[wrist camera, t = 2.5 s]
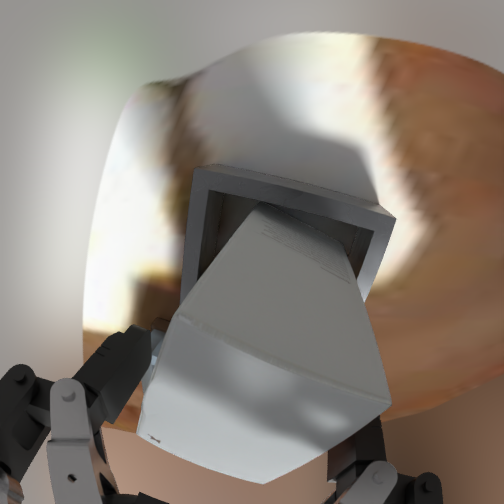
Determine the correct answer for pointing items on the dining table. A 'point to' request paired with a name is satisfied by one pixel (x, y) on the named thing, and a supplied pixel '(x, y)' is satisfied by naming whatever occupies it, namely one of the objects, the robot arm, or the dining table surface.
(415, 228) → the dining table surface
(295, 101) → the dining table surface
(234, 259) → the small box
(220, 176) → the socket
